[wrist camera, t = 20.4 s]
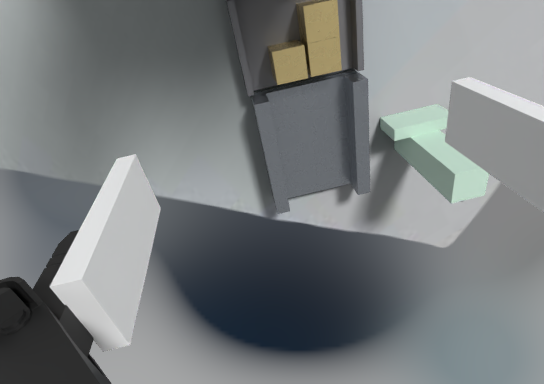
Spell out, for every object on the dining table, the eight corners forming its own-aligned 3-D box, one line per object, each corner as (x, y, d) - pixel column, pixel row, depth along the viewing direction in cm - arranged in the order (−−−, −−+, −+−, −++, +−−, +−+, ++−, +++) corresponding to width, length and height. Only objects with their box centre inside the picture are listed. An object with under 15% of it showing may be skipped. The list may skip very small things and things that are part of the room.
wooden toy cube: (267, 46, 44) (271, 52, 40) (297, 39, 44) (304, 44, 41) (272, 77, 46) (277, 85, 43) (301, 70, 46) (308, 78, 43)
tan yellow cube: (300, 38, 44) (307, 43, 41) (330, 31, 44) (339, 36, 41) (304, 69, 46) (311, 77, 43) (332, 63, 46) (341, 70, 43)
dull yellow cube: (296, 3, 42) (303, 6, 38) (327, -4, 42) (337, -2, 38) (300, 38, 44) (307, 43, 41) (330, 31, 44) (339, 36, 41)
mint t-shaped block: (380, 117, 52) (437, 166, 39) (437, 104, 53) (513, 147, 39) (380, 152, 56) (432, 208, 42) (433, 139, 56) (502, 190, 43)
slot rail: (250, 93, 47) (254, 105, 43) (354, 69, 48) (367, 79, 44) (273, 196, 57) (277, 213, 53) (358, 176, 58) (370, 192, 54)
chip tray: (224, -7, 40) (225, -6, 38) (353, -36, 41) (361, -37, 39) (246, 90, 47) (248, 96, 45) (357, 65, 47) (363, 69, 45)
